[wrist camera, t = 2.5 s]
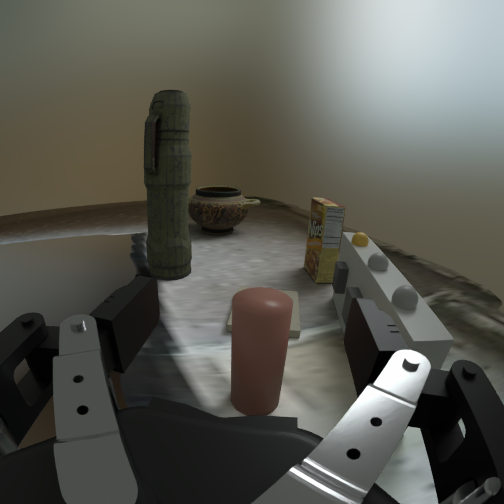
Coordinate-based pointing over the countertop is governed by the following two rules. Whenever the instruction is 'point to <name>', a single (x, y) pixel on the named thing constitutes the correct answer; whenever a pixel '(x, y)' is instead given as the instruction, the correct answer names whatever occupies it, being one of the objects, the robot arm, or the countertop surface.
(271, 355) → the pink cylinder
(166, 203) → the thermos
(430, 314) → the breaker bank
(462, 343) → the countertop surface
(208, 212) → the ceramic bowl
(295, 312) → the pad
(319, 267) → the candy box
